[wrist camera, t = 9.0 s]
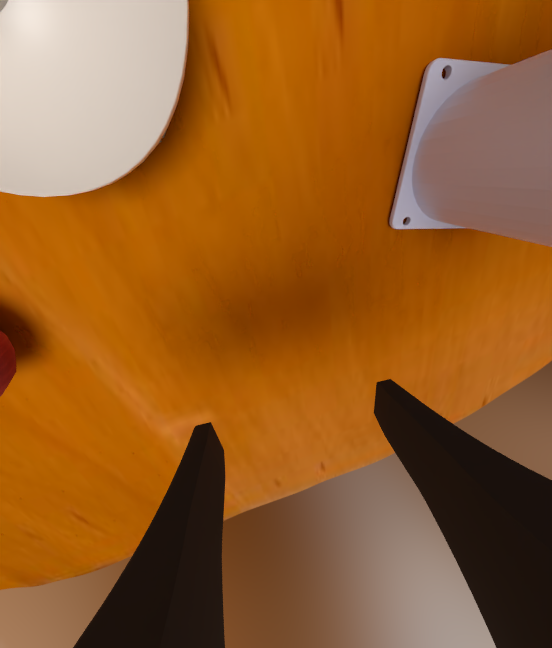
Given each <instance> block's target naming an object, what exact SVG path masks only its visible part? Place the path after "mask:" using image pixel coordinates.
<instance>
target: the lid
mask: <svg viewBox="0 0 552 648" xmlns="http://www.w3.org/2000/svg"><path fill="white" fill-rule="evenodd" d="M188 41H189V1H188V0H0V191H1V192H6V193H12V194H17V195H27V196H41V197H47V196H64V195H73V194H79V193H84V192H88V191H93V190H97V189H99V188H102V187H104V186H107V185H110V184H112V183H114V182H116V181H118V180H119V179H121V178H123V177H124V176H126V175H128V174H129V173H131V172H132V171H133V170H134V169H135V168H137V167H138V166H139V165H140V164H141V163H142V162H144V161H145V159H146V158H147V157H148V156H149V155H150V153H151V152H152V151H153V150H154V149H155V147H156V146H157V145H158V143H159V142H160V140H161V138H162V136H163V135H164V133H165V131H166V130H167V128H168V126H169V124H170V121H171V119H172V116H173V114H174V111H175V109H176V106H177V104H178V100H179V96H180V92H181V89H182V85H183V81H184V76H185V69H186V61H187V54H188Z"/></svg>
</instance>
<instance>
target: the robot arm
mask: <svg viewBox="0 0 552 648" xmlns="http://www.w3.org/2000/svg"><path fill="white" fill-rule="evenodd" d="M443 68H444V69H445V71H446V76H445V78H444V79H443V78H442V71H443ZM406 217H407V221H406V222H405V223H404V224H403V220H404V218H406ZM389 224H390V226H391V227H392V228H394V229H442V228H470V229H475V230H479V231H484V232H488V233H493V234H497V235H501V236H506V237H510V238H515V239H519V240H524V241H528V242H533V243H537V244H542V245H546V246H551V247H552V49H551V50H548V51H546V52H543V53H541V54H538V55H536V56H533V57H530V58H528V59H525V60H523V61H520V62H517V63H515V64H512V65H508V64H498V63H488V62H477V61H467V60H457V59H447V58H438V59H435V60H434V61H432V62H431V63H429V65H428V66H427V68H426V70H425V73H424V76H423V81H422V85H421V89H420V93H419V98H418V102H417V106H416V110H415V115H414V119H413V123H412V127H411V132H410V136H409V140H408V144H407V149H406V153H405V157H404V161H403V166H402V170H401V174H400V178H399V183H398V187H397V191H396V195H395V199H394V204H393V208H392V212H391V216H390V221H389ZM374 414H375V416H376V418H377V421H378V423H379V425H380V427H381V429H382V431H383V433H384V435H385V437H386V438H387V440H388V442H389V443H390V445H391V446H392V448H393V450H394V451H395V453H396V454H397V456H398V457H399V459H400V461H401V462H402V464H403V465H404V467H405V468H406V470H407V472H408V473H409V475H410V476H411V478H412V479H413V481H414V483H415V484H416V486H417V487H418V489H419V490H420V492H421V494H422V496H423V497H424V499H425V501H426V503H427V505H428V507H429V508H430V510H431V512H432V514H433V516H434V518H435V520H436V522H437V524H438V526H439V527H440V529H441V531H442V533H443V535H444V537H445V539H446V541H447V543H448V545H449V547H450V549H451V551H452V553H453V555H454V557H455V559H456V561H457V563H458V565H459V567H460V569H461V572H462V574H463V576H464V578H465V580H466V582H467V584H468V586H469V588H470V590H471V592H472V594H473V596H474V599H475V601H476V603H477V605H478V608H479V610H480V612H481V614H482V616H483V618H484V620H485V623H486V625H487V627H488V629H489V632H490V634H491V636H492V638H493V641H494V643H495V645H496V648H552V480H550V479H548V478H546V477H544V476H542V475H540V474H538V473H536V472H534V471H532V470H530V469H528V468H526V467H524V466H522V465H520V464H519V463H517V462H515V461H513V460H511V459H509V458H508V457H506V456H504V455H502V454H501V453H499V452H497V451H495V450H494V449H492V448H490V447H489V446H487V445H485V444H483V443H482V442H480V441H479V440H477V439H475V438H474V437H472V436H471V435H469V434H467V433H466V432H464V431H463V430H461V429H459V428H458V427H457V426H455V425H454V424H452V423H451V422H449V421H448V420H446V419H445V418H443V417H442V416H440V415H439V414H438V413H436V412H435V411H433V410H432V409H430V408H429V407H428V406H426V405H425V404H423V403H422V402H421V401H419V400H418V399H417V398H415V397H414V396H412V395H411V394H410V393H408V392H407V391H406V390H404V389H403V388H402V387H400V386H399V385H398V384H396V383H395V382H394V381H392V380H391V379H389V380H384V381H380V382H377V385H376V396H375V407H374ZM224 493H225V460H224V449H223V447H222V445H221V443H220V441H219V439H218V437H217V435H216V432H215V430H214V428H213V426H212V424H211V422H210V423H206V424H201V425H197V426H196V427H195V428H194V430H193V433H192V435H191V438H190V441H189V443H188V446H187V448H186V450H185V453H184V455H183V458H182V460H181V462H180V465H179V467H178V469H177V471H176V473H175V476H174V478H173V480H172V482H171V484H170V486H169V489H168V491H167V493H166V495H165V497H164V499H163V501H162V503H161V505H160V507H159V509H158V511H157V513H156V515H155V517H154V518H153V520H152V522H151V524H150V526H149V528H148V530H147V531H146V533H145V535H144V537H143V539H142V540H141V542H140V544H139V546H138V547H137V549H136V551H135V553H134V554H133V556H132V558H131V559H130V561H129V563H128V564H127V566H126V568H125V569H124V571H123V572H122V574H121V576H120V577H119V579H118V581H117V582H116V584H115V585H114V587H113V589H112V590H111V592H110V593H109V595H108V596H107V598H106V600H105V601H104V603H103V604H102V606H101V607H100V609H99V610H98V612H97V613H96V615H95V616H94V618H93V619H92V621H91V622H90V623H89V625H88V626H87V628H86V629H85V631H84V632H83V634H82V635H81V637H80V638H79V640H78V641H77V643H76V644H75V646H74V647H73V648H225V641H224V619H223V594H222V529H223V512H224Z"/></svg>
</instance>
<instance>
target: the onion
mask: <svg viewBox="0 0 552 648" xmlns="http://www.w3.org/2000/svg"><path fill="white" fill-rule="evenodd" d="M15 373H16V356H15V349H14V347H13V346H12V344H11V342H10V340H9V339H8V337H7V335H6V334H4V333H3V332H2V331H0V396H1V395H2V394H3V392H4V391H5V389H6V388H7V386H8V385H9V383H10V381H11V380H12V378H13V376H14V374H15Z"/></svg>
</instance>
